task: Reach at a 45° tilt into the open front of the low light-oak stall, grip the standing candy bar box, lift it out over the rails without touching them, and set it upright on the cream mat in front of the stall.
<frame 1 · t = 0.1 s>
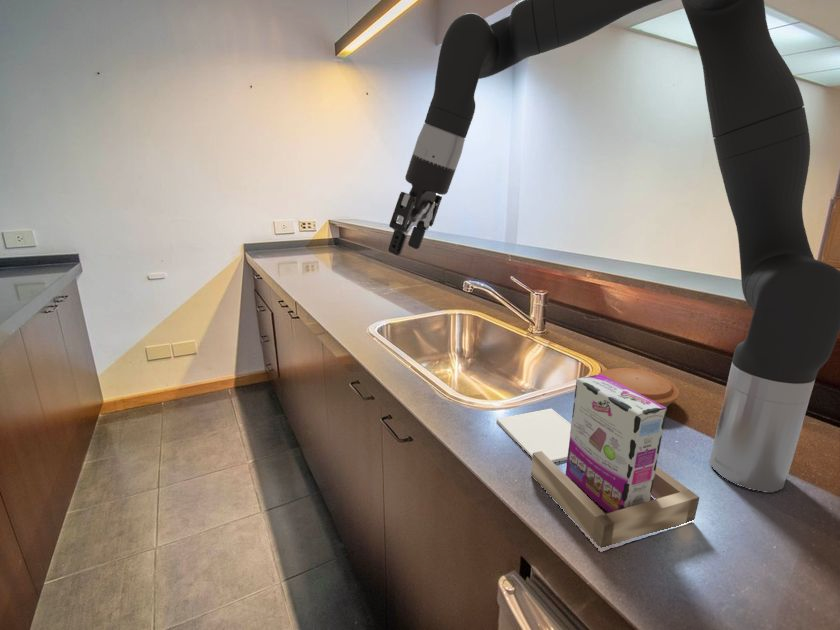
hand: (404, 250, 76), 31 cm above the countertop, tool tilted 20°, fingers open, 8 cm apart
candy bar box: (603, 496, 60), on the countertop
stall: (603, 494, 60), on the countertop
pie: (633, 401, 87), on the countertop
mat: (545, 435, 75), on the countertop
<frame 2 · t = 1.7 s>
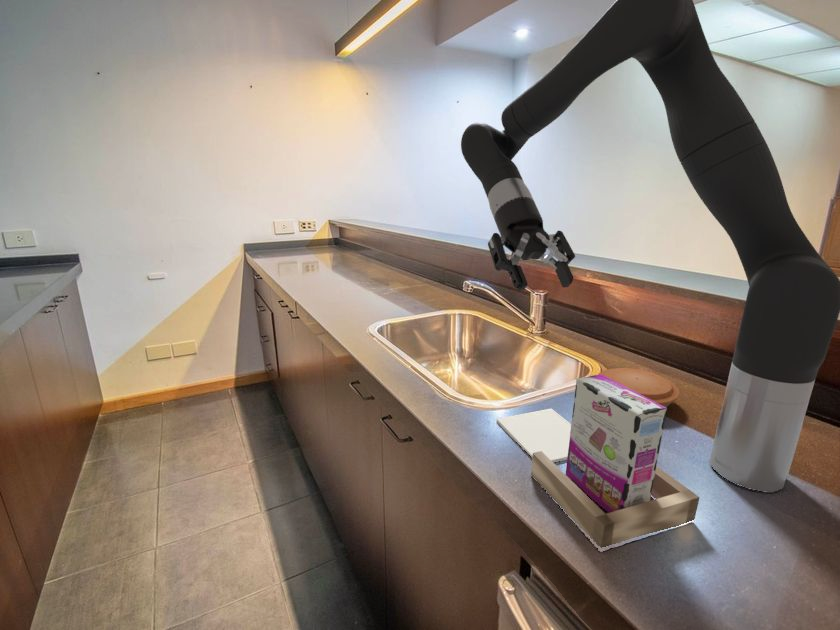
hand: (546, 286, 68), 27 cm above the countertop, tool tilted 45°, fingers open, 8 cm apart
nothing on the countertop moved.
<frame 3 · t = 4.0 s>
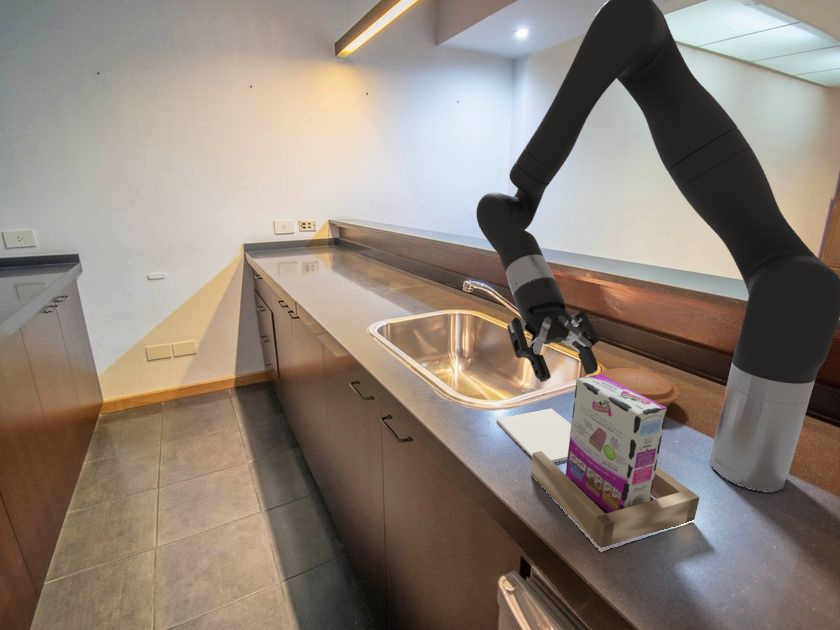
hand: (569, 376, 65), 14 cm above the countertop, tool tilted 45°, fingers open, 8 cm apart
nothing on the countertop moved.
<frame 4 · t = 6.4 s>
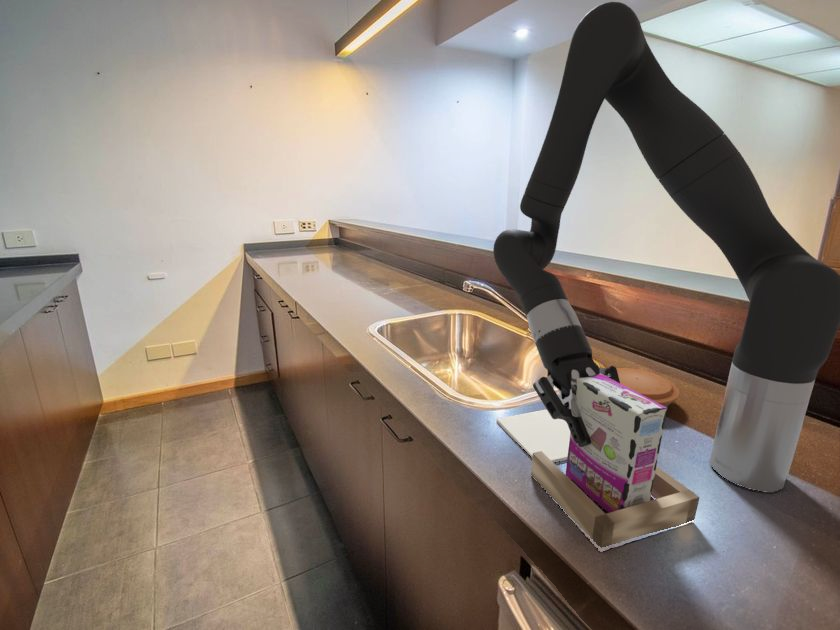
hand: (601, 441, 59), 8 cm above the countertop, tool tilted 45°, fingers closed on candy bar box, 5 cm apart
candy bar box: (603, 496, 60), on the countertop, touching gripper
everything else where it was.
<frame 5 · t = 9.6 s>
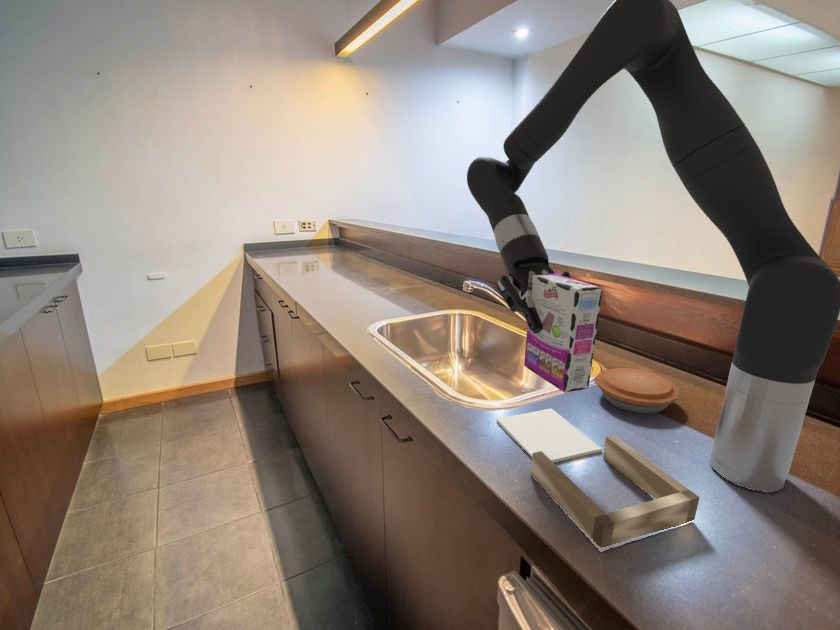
hand: (553, 329, 69), 20 cm above the countertop, tool tilted 45°, fingers closed on candy bar box, 5 cm apart
candy bar box: (554, 377, 70), point 12 cm above the countertop, touching gripper
everything else where it was.
when the fingers open (9 cm above the countertop, at t = 12.8 s): candy bar box stays where it is, resting on mat.
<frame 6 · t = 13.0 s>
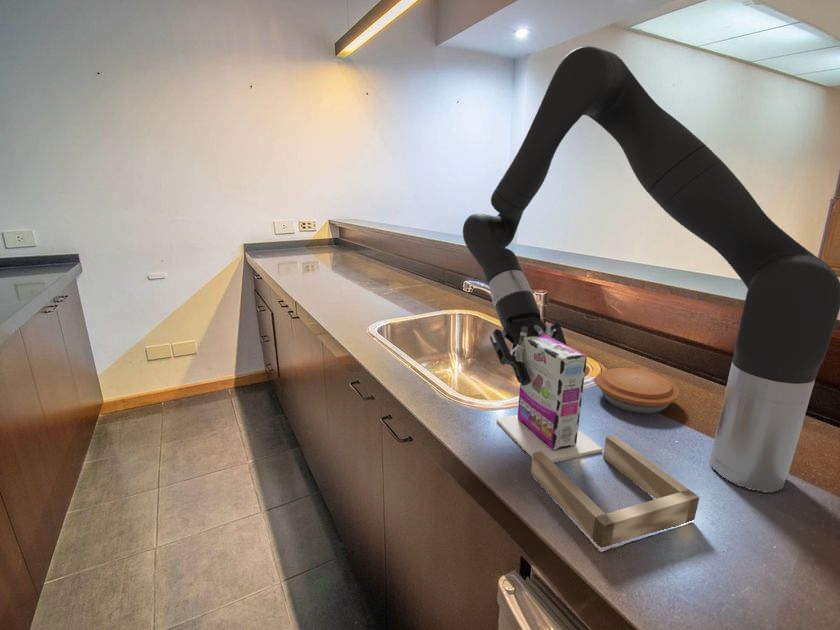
hand: (544, 381, 73), 10 cm above the countertop, tool tilted 45°, fingers open, 6 cm apart
candy bar box: (545, 432, 75), resting on mat
everything else where it was.
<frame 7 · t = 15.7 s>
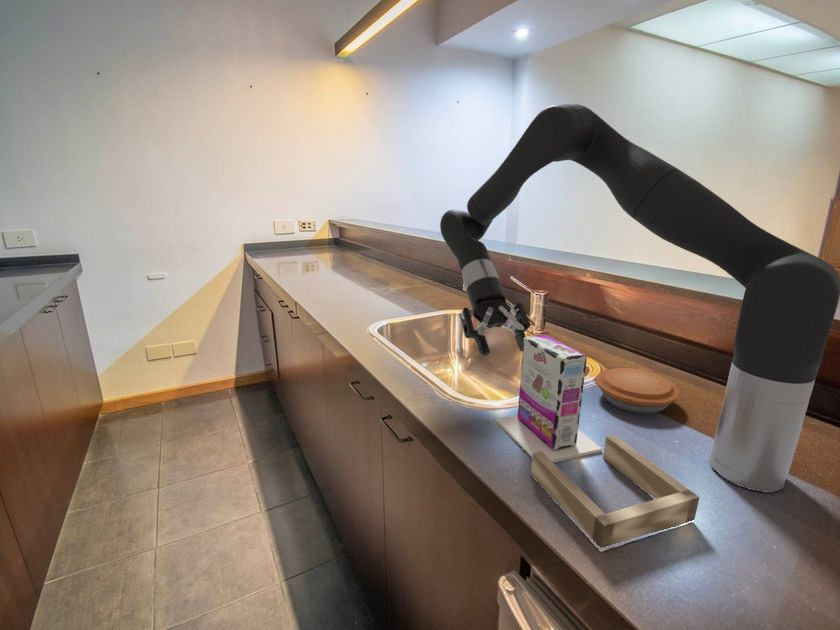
hand: (505, 352, 85), 10 cm above the countertop, tool tilted 45°, fingers open, 8 cm apart
nothing on the countertop moved.
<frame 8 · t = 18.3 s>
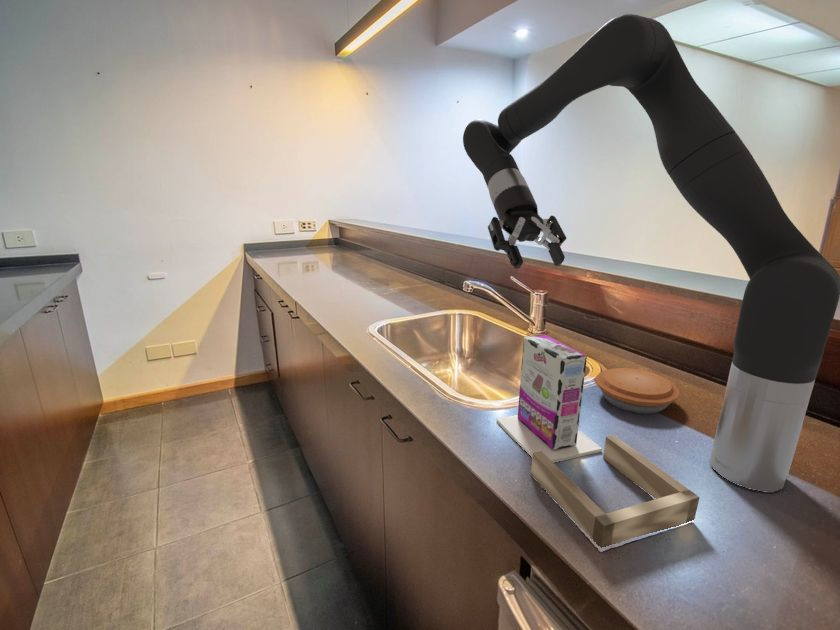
hand: (540, 264, 76), 29 cm above the countertop, tool tilted 45°, fingers open, 8 cm apart
nothing on the countertop moved.
at the end: candy bar box inside the target area on the mat (0.4 cm from its centre), point 0.4 cm above the mat's base; candy bar box tilted 0°; candy bar box touching mat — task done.
